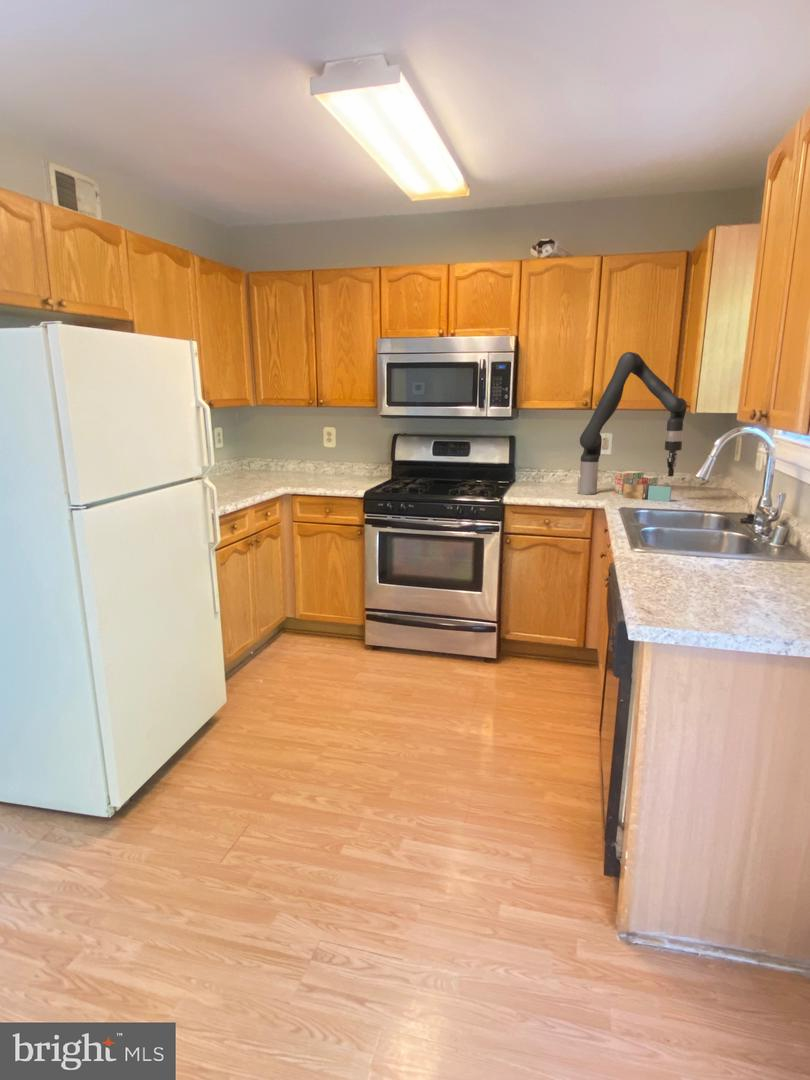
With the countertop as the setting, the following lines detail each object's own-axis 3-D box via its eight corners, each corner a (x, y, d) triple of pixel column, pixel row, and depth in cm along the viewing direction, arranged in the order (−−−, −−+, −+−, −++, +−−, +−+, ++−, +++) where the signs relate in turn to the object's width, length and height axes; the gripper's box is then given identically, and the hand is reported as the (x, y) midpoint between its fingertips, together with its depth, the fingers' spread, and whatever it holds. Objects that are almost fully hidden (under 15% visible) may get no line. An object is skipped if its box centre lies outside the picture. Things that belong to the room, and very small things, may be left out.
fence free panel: (647, 499, 294) (648, 486, 293) (648, 499, 296) (649, 485, 294) (669, 501, 289) (670, 487, 287) (670, 501, 290) (671, 487, 289)
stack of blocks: (649, 493, 322) (651, 470, 319) (656, 494, 316) (658, 471, 313) (614, 494, 316) (616, 471, 314) (621, 496, 310) (623, 473, 308)
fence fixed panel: (622, 499, 301) (624, 482, 299) (623, 498, 303) (625, 482, 301) (646, 501, 295) (648, 484, 293) (648, 500, 296) (649, 483, 294)
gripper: (667, 439, 295) (665, 474, 299) (662, 440, 284) (659, 477, 288) (684, 439, 291) (681, 475, 295) (679, 441, 280) (676, 478, 284)
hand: (670, 476), depth 291 cm, fingers closed
